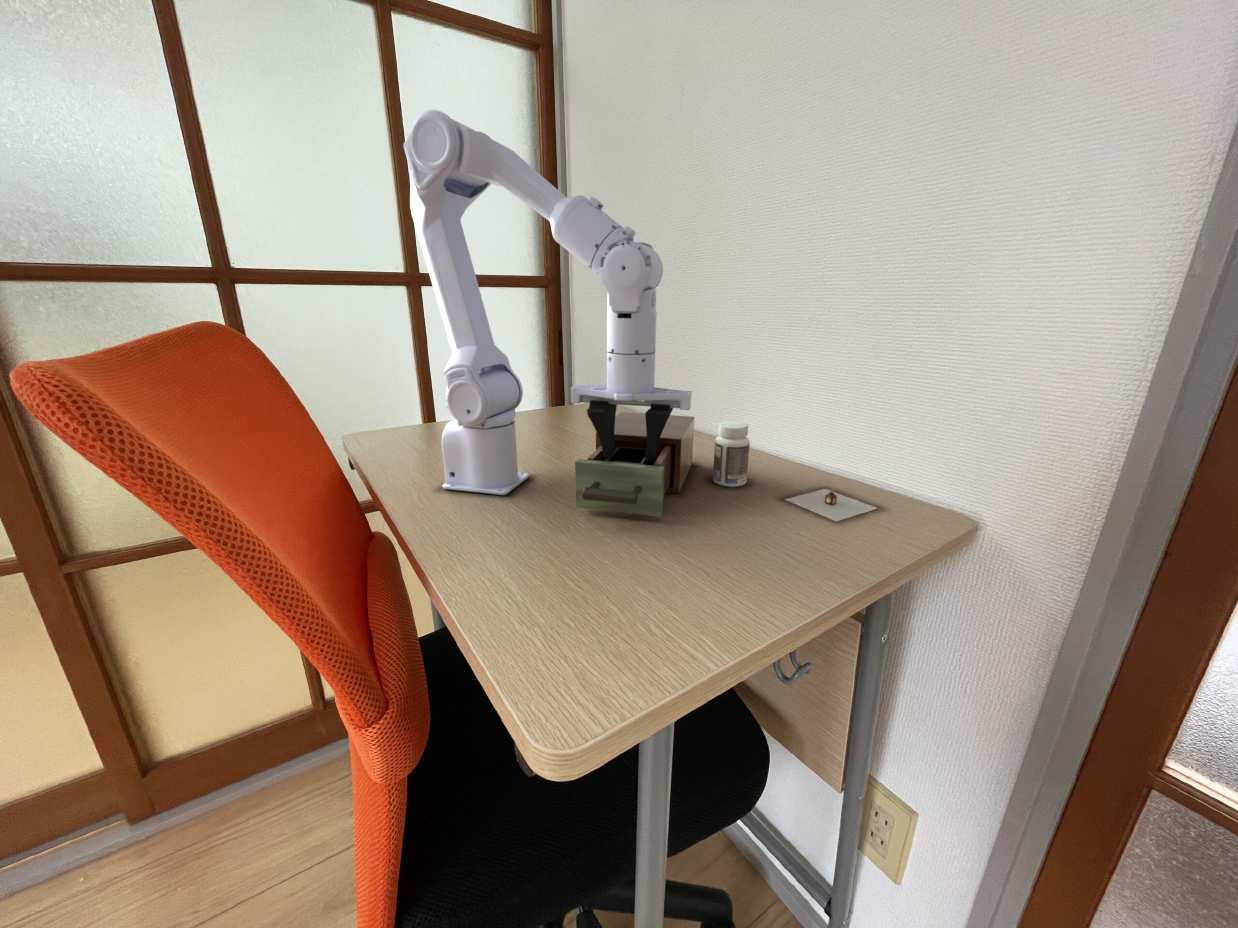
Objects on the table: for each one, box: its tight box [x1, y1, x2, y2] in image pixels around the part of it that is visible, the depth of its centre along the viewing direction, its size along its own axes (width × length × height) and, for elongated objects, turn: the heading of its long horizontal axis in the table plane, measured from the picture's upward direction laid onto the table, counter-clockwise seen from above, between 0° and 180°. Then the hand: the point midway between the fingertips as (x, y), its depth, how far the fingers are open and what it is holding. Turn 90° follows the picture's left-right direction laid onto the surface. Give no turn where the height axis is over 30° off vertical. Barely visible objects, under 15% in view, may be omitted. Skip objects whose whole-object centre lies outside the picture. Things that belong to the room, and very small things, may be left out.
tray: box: [605, 447, 646, 465], centre depth 66 cm, size 5×6×3 cm
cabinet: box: [595, 411, 695, 495], centre depth 77 cm, size 14×12×8 cm
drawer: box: [574, 440, 674, 518], centre depth 65 cm, size 16×10×6 cm, turn 165°
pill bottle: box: [712, 420, 751, 488], centre depth 74 cm, size 5×5×8 cm
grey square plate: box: [784, 488, 878, 522], centre depth 67 cm, size 8×8×2 cm
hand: (629, 462), depth 66 cm, fingers closed on tray, 4 cm apart
